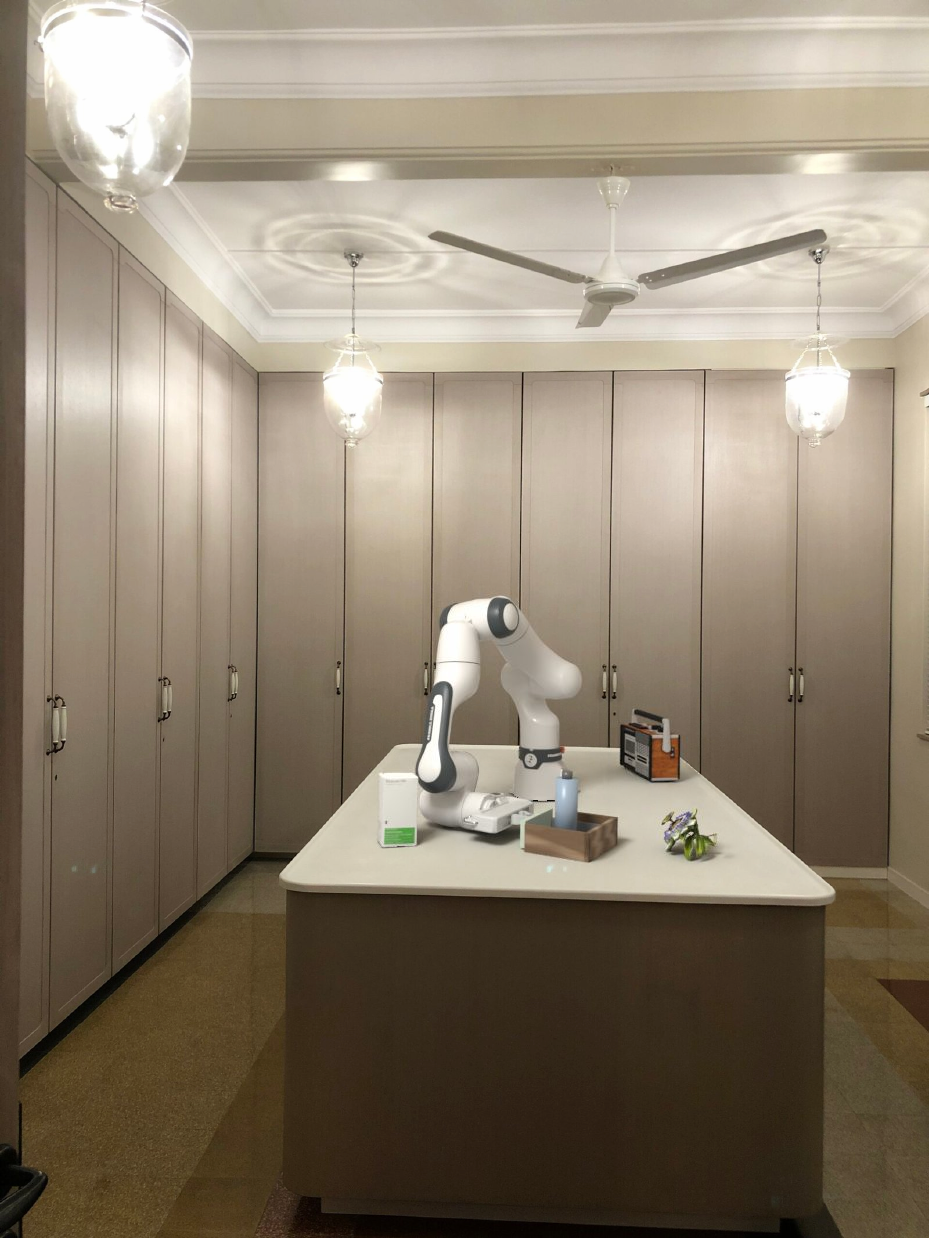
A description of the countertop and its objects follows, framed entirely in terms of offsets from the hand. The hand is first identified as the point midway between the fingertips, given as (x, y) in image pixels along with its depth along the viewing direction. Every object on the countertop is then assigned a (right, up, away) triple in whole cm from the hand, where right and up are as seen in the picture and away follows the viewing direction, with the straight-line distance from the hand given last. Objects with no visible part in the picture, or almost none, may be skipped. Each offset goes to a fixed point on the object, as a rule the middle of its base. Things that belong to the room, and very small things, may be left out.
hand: (534, 819), depth 196 cm
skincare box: (-31, -5, -3) cm, 32 cm away
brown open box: (+7, -5, -4) cm, 10 cm away
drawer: (+7, -5, -4) cm, 10 cm away
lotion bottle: (+7, -4, -4) cm, 9 cm away
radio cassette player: (+44, -5, +83) cm, 94 cm away
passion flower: (+33, -6, -8) cm, 34 cm away
